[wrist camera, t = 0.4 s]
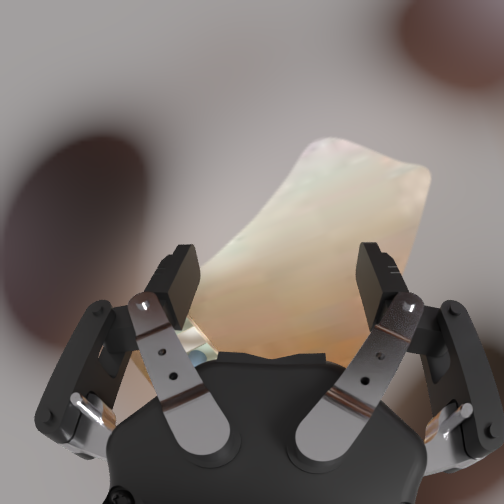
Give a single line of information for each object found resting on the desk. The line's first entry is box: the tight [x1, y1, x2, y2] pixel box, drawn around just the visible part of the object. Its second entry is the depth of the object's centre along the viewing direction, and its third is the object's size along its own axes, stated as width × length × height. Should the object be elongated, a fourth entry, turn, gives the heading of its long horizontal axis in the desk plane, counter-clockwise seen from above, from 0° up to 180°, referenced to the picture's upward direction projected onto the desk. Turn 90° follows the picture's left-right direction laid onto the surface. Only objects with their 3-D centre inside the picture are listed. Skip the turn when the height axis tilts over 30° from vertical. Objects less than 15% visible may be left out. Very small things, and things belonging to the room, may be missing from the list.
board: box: [174, 315, 219, 361], centre depth 50 cm, size 16×8×1 cm, turn 34°
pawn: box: [188, 350, 207, 367], centre depth 44 cm, size 4×4×12 cm
